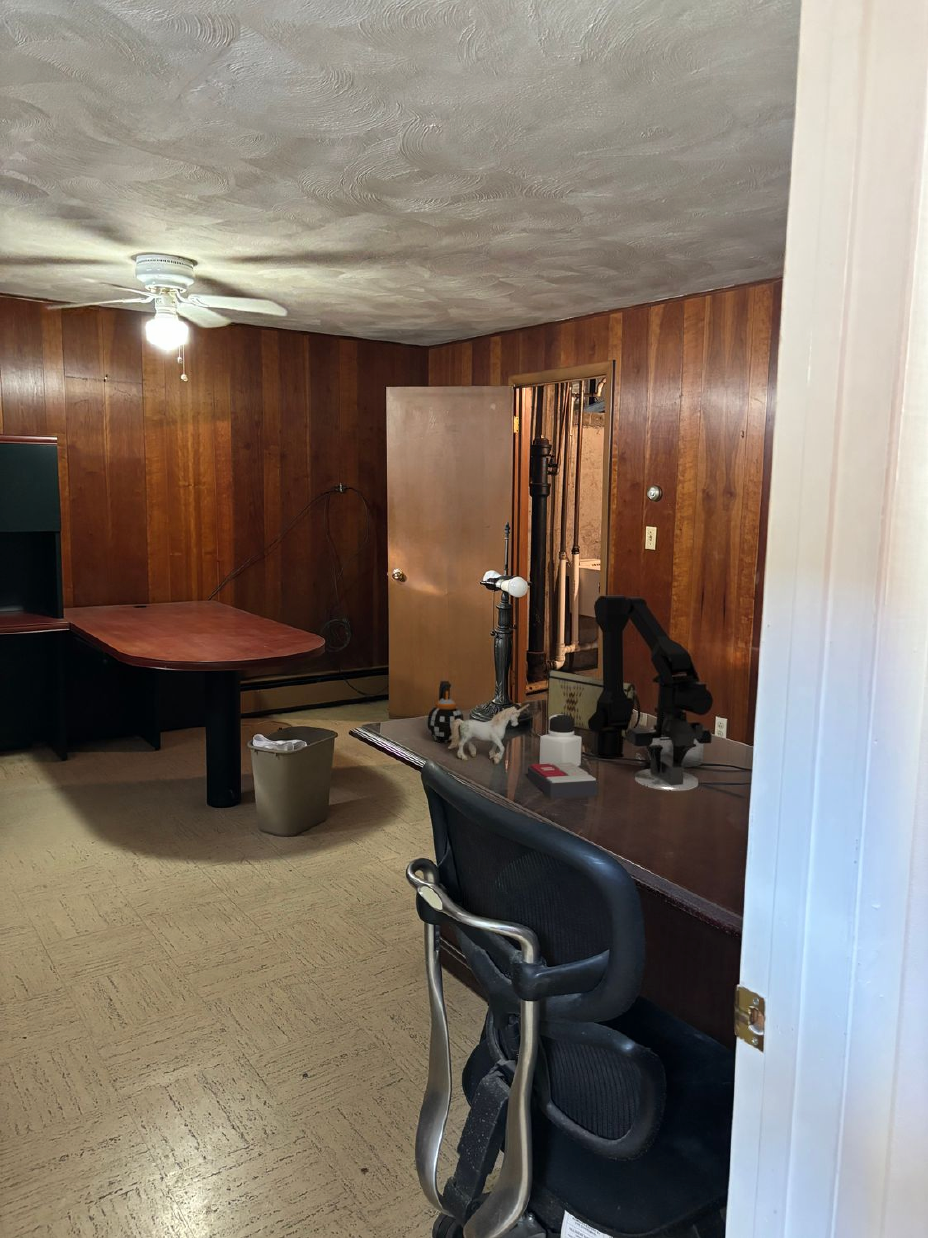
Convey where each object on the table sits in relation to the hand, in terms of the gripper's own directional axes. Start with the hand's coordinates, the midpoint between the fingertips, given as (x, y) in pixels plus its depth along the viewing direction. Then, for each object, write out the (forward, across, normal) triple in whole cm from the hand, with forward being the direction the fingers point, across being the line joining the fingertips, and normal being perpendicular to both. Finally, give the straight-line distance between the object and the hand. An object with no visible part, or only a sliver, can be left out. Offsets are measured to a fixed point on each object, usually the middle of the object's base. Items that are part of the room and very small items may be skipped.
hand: (666, 772), depth 201 cm
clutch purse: (+2, +1, +47) cm, 47 cm away
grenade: (+2, -42, +41) cm, 59 cm away
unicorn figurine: (+2, -35, +24) cm, 42 cm away
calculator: (+2, -25, 0) cm, 25 cm away
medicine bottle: (+2, -20, +15) cm, 25 cm away
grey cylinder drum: (+2, +10, +15) cm, 18 cm away
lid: (+2, 0, 0) cm, 2 cm away
